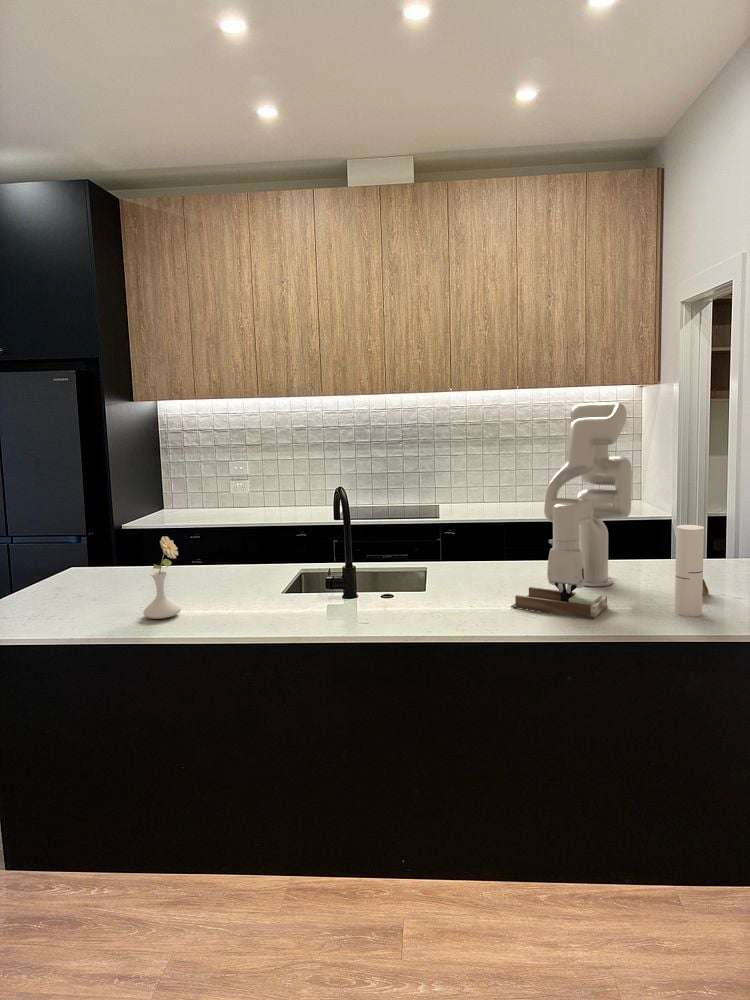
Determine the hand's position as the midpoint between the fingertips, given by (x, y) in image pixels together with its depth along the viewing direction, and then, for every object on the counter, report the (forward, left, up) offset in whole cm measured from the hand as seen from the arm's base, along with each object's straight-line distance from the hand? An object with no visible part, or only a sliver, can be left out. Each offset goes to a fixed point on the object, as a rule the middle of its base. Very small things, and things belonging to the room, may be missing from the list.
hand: (566, 604), depth 214 cm
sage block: (0, +6, -1) cm, 6 cm away
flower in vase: (+62, -107, -2) cm, 124 cm away
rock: (-30, +30, -2) cm, 42 cm away
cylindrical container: (-12, +32, -2) cm, 34 cm away
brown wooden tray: (0, -2, -1) cm, 3 cm away
